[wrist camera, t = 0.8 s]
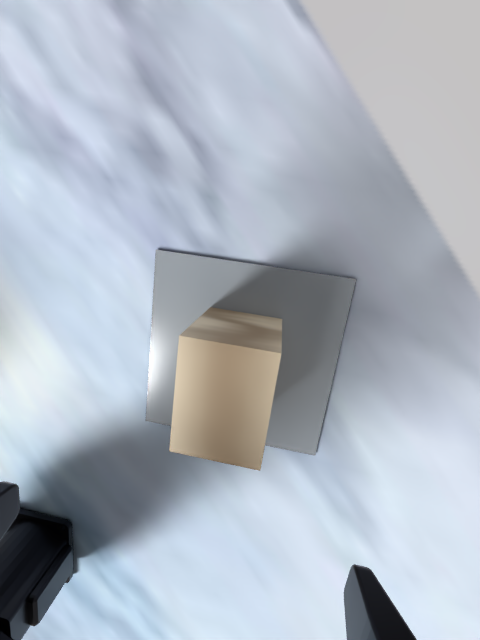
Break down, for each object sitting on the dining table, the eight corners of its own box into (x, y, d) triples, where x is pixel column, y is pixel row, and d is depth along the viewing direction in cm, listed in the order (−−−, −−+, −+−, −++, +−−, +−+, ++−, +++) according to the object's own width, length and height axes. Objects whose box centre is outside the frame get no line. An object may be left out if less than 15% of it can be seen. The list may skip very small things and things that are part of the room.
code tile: (146, 419, 22) (145, 421, 22) (157, 249, 19) (155, 249, 19) (314, 453, 21) (315, 455, 21) (355, 279, 18) (356, 279, 18)
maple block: (200, 393, 21) (169, 451, 15) (210, 307, 19) (178, 335, 14) (266, 406, 21) (260, 470, 15) (282, 318, 19) (281, 353, 13)
